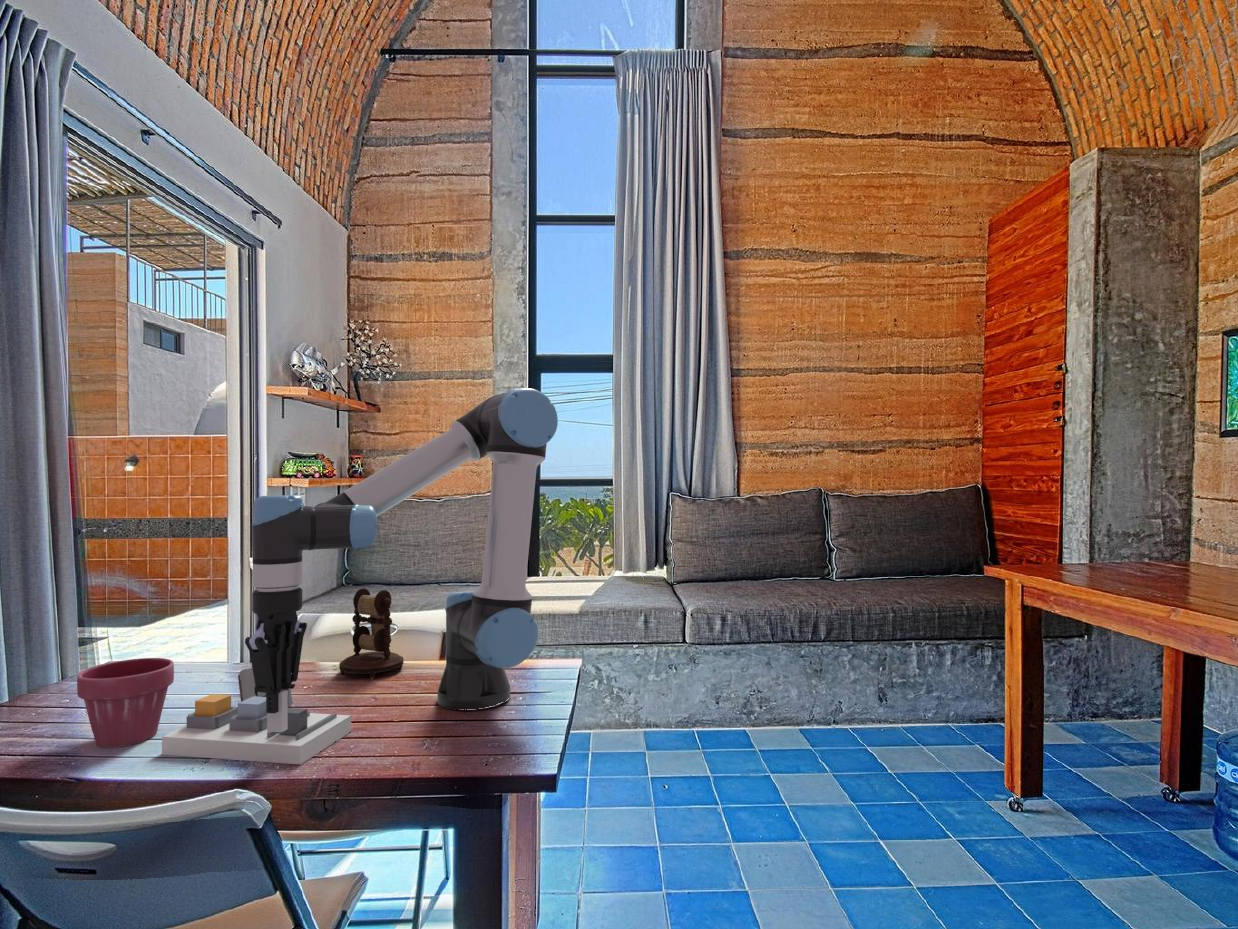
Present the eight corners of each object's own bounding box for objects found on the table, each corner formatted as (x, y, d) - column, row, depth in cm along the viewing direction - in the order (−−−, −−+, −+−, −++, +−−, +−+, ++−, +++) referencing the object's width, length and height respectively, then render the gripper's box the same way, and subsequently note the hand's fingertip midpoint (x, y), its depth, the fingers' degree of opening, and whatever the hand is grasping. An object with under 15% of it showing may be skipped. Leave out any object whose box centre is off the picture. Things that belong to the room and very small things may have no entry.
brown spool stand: (416, 667, 173) (416, 586, 173) (372, 683, 160) (373, 595, 160) (370, 661, 179) (371, 583, 180) (325, 676, 166) (325, 591, 166)
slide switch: (307, 729, 120) (307, 708, 120) (298, 734, 118) (298, 713, 118) (286, 728, 121) (286, 707, 121) (277, 733, 119) (277, 712, 119)
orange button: (231, 709, 127) (231, 695, 127) (214, 716, 123) (215, 702, 123) (211, 708, 127) (211, 694, 127) (194, 715, 123) (195, 701, 123)
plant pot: (64, 759, 116) (65, 682, 117) (89, 731, 129) (90, 662, 129) (165, 745, 122) (165, 672, 122) (179, 720, 135) (180, 654, 135)
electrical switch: (246, 719, 136) (244, 670, 137) (234, 716, 139) (233, 668, 140) (293, 707, 143) (291, 661, 144) (281, 704, 146) (280, 659, 147)
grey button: (273, 712, 125) (273, 697, 125) (257, 719, 121) (258, 704, 121) (253, 710, 126) (253, 696, 126) (237, 718, 122) (237, 703, 122)
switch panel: (351, 731, 128) (351, 704, 128) (300, 764, 114) (300, 733, 114) (226, 724, 133) (226, 697, 133) (161, 754, 118) (162, 724, 118)
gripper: (282, 581, 123) (282, 716, 122) (229, 593, 110) (229, 744, 109) (321, 582, 122) (321, 718, 121) (272, 594, 109) (272, 746, 108)
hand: (277, 730), depth 115 cm, fingers closed
